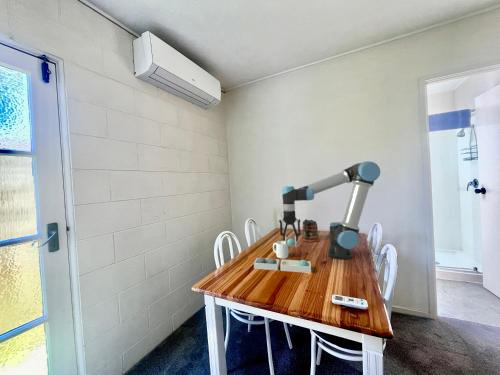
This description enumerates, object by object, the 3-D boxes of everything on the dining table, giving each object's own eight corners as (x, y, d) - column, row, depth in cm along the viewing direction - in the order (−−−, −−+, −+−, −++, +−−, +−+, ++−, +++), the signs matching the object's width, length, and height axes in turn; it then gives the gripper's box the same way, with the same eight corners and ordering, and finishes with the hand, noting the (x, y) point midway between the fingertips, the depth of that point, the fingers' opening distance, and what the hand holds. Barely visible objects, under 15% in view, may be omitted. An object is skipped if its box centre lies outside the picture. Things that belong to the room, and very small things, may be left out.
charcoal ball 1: (266, 264, 128) (266, 256, 128) (265, 268, 123) (264, 259, 123) (258, 264, 130) (258, 255, 129) (256, 267, 124) (256, 258, 124)
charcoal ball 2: (277, 265, 127) (276, 256, 126) (275, 269, 121) (275, 260, 121) (268, 264, 128) (268, 256, 128) (266, 268, 123) (266, 259, 122)
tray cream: (310, 267, 123) (310, 261, 123) (311, 274, 115) (310, 267, 115) (282, 265, 127) (281, 259, 127) (280, 271, 119) (280, 264, 119)
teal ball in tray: (308, 267, 122) (308, 258, 122) (308, 271, 116) (308, 262, 116) (298, 267, 123) (298, 258, 123) (298, 271, 118) (298, 261, 118)
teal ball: (295, 245, 133) (295, 237, 133) (295, 248, 128) (294, 239, 128) (286, 245, 134) (286, 236, 134) (286, 247, 129) (286, 239, 129)
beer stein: (315, 244, 166) (315, 220, 165) (298, 242, 173) (297, 219, 172) (320, 238, 182) (320, 216, 181) (304, 236, 189) (303, 215, 189)
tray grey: (279, 265, 128) (278, 259, 127) (277, 271, 120) (277, 264, 120) (257, 264, 131) (256, 258, 131) (254, 269, 123) (253, 263, 123)
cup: (284, 260, 136) (284, 245, 136) (269, 256, 144) (269, 242, 144) (290, 256, 142) (290, 242, 142) (276, 252, 150) (275, 239, 150)
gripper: (303, 209, 132) (305, 244, 132) (275, 209, 136) (277, 243, 137) (303, 210, 124) (305, 248, 125) (274, 211, 129) (276, 247, 130)
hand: (291, 245), depth 131 cm, fingers closed on teal ball, 5 cm apart
